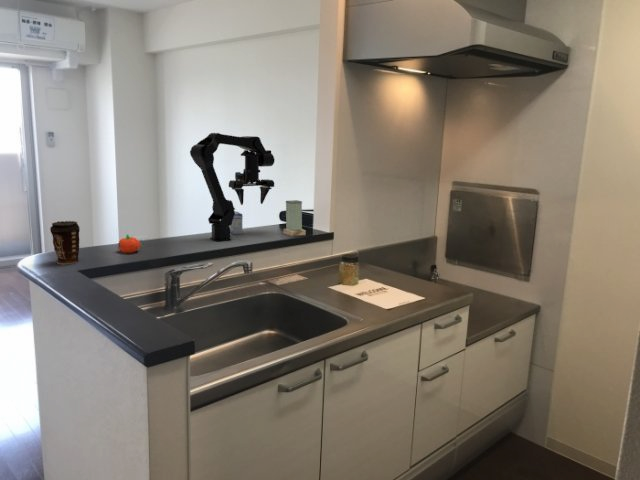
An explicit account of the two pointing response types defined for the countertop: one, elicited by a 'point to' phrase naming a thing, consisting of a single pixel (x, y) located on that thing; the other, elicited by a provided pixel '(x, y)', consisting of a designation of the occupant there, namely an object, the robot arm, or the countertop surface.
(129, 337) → the countertop surface
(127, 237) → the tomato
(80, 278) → the countertop surface
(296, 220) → the tea tin
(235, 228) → the medicine box
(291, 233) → the oak block
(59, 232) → the coffee cup
